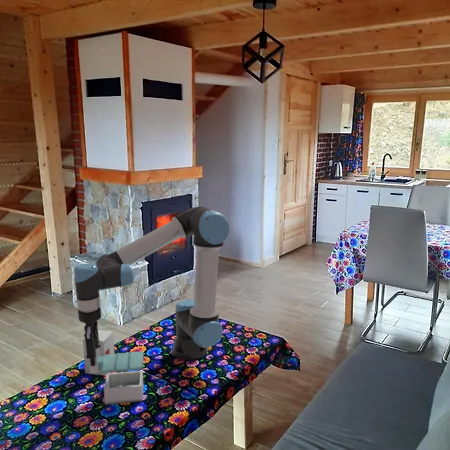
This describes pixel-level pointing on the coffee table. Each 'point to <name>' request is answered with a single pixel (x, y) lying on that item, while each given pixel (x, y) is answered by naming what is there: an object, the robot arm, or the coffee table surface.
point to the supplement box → (101, 348)
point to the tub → (123, 387)
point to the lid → (120, 362)
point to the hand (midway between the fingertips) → (95, 368)
